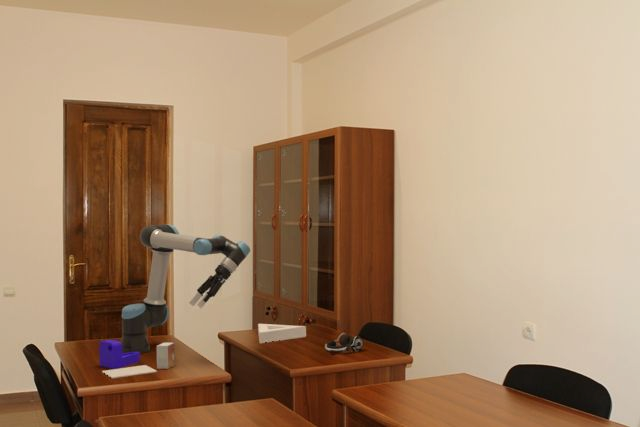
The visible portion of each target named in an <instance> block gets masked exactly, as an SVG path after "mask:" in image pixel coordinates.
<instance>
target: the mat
mask: <svg viewBox="0 0 640 427" xmlns="http://www.w3.org/2000/svg"><path fill="white" fill-rule="evenodd" d="M101 372H102V374H104V373H105V374H104V375H106V376H107V375H108V376H107V377H109V378H110V377H111V379H119V378H126V377H132V376H138V375H145V374H146V375H147V374H152V373H158V371H157V370H156V369H154V368H152V367H151V366H148V365H147V364H144V365H143V364H142V365H136V366H129V367H127V366H126V367H121V368H117V369H108V370H102V371H101Z"/></svg>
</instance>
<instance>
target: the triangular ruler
mask: <svg viewBox="0 0 640 427" xmlns="http://www.w3.org/2000/svg"><path fill="white" fill-rule="evenodd" d="M257 332H258V333H257V334H258V341H259V344H265V342H267V343H273V342H272V341H274V342H279V340H280V341H285V340H287V341H288V340H292V339H293V340H294V339H300V338H306V337H307V326H306V325H288V324H269V323H257Z"/></svg>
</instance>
